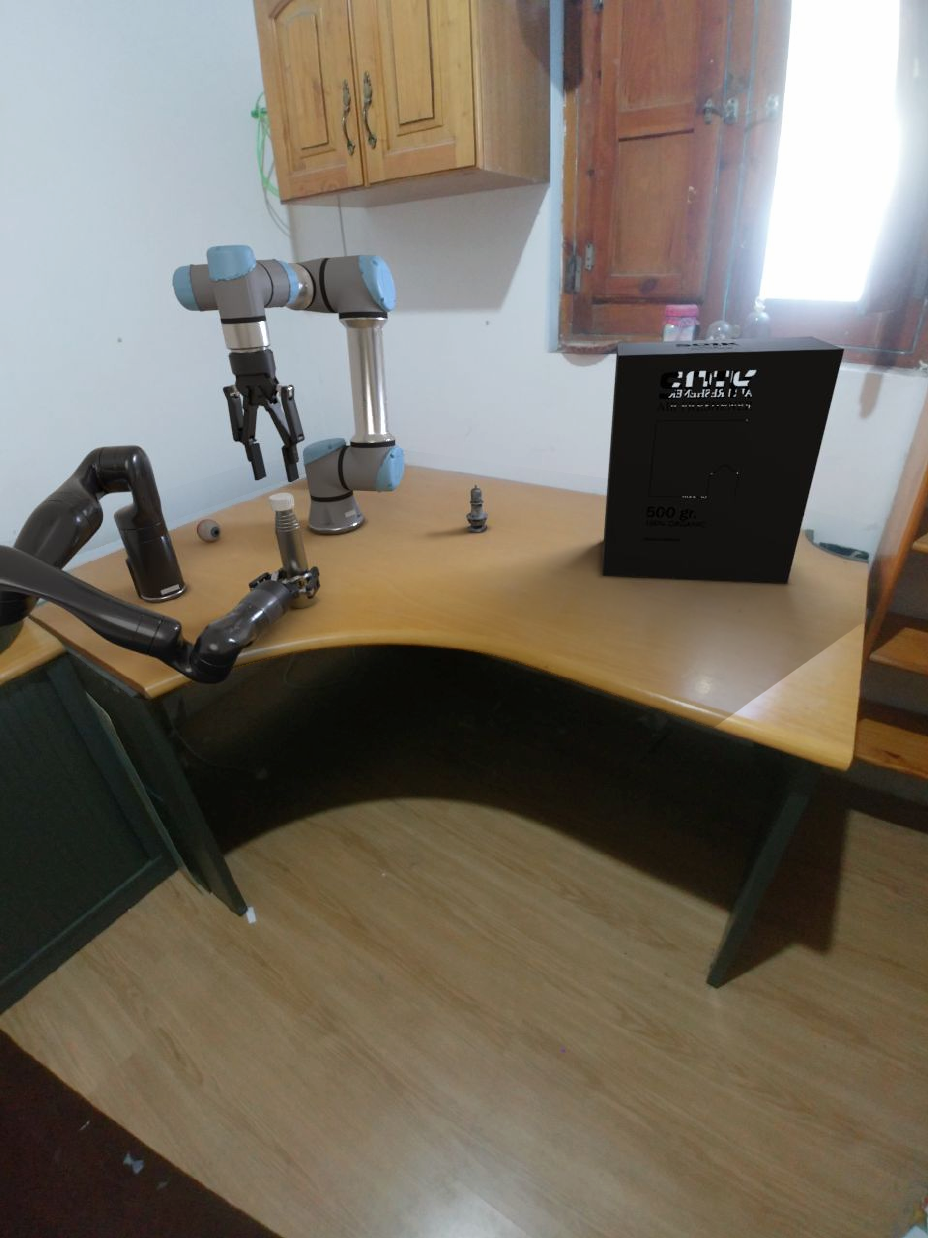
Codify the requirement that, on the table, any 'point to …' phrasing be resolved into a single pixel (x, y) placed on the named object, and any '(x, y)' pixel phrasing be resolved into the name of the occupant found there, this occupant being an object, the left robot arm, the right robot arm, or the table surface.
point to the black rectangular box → (714, 456)
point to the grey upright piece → (476, 512)
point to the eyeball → (208, 530)
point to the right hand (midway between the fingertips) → (277, 478)
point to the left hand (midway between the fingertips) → (302, 569)
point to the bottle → (292, 551)
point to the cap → (281, 501)
